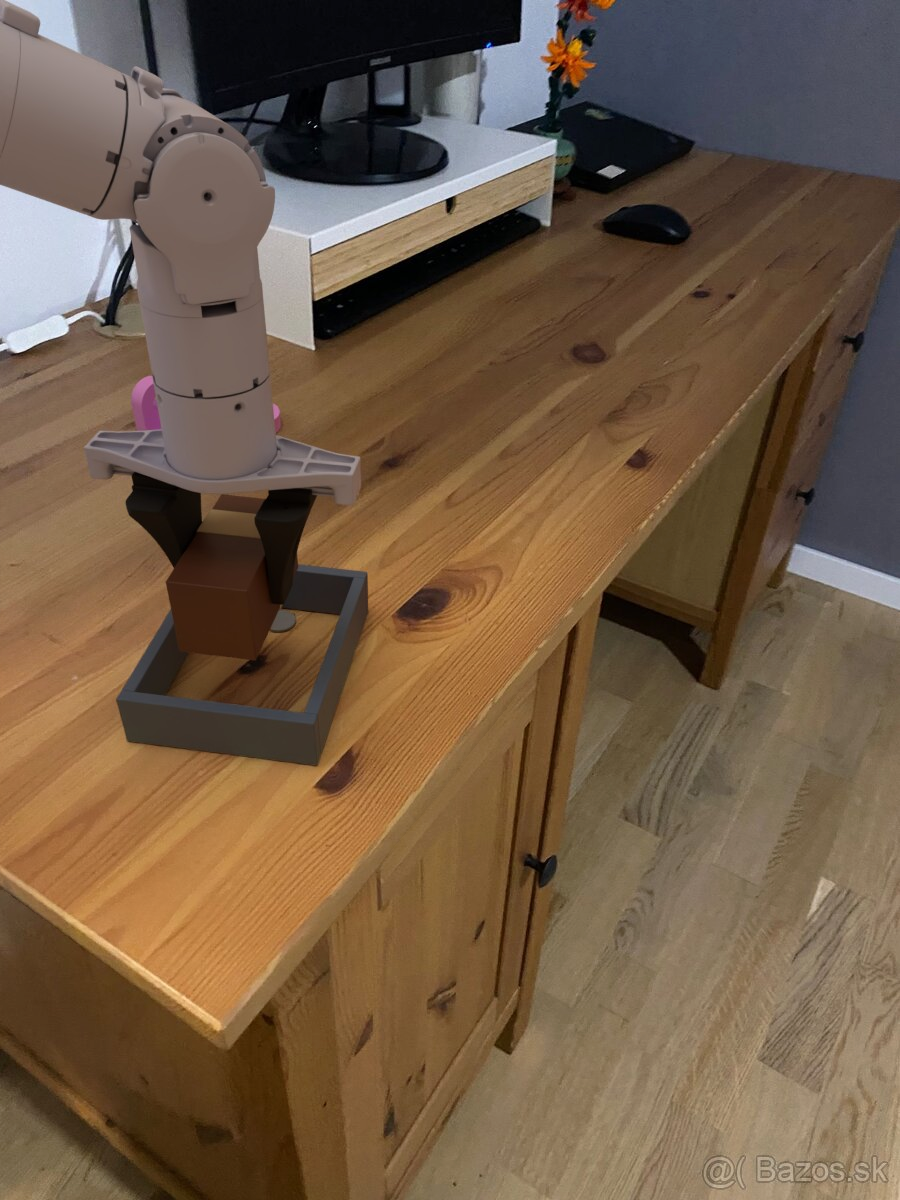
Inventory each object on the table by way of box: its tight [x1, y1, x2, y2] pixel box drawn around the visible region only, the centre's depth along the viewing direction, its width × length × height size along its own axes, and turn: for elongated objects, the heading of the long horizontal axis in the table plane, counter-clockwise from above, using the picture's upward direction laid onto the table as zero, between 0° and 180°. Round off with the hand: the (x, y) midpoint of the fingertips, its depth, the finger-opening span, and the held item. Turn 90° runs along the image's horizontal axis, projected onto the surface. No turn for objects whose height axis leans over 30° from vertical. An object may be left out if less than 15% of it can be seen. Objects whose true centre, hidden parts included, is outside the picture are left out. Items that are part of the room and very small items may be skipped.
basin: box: [115, 563, 369, 766], centre depth 58 cm, size 12×15×4 cm
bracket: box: [130, 375, 282, 434], centre depth 81 cm, size 13×6×7 cm, turn 142°
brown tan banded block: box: [165, 494, 299, 662], centre depth 53 cm, size 5×9×5 cm, turn 172°
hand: (240, 589), depth 54 cm, fingers closed on brown tan banded block, 4 cm apart
